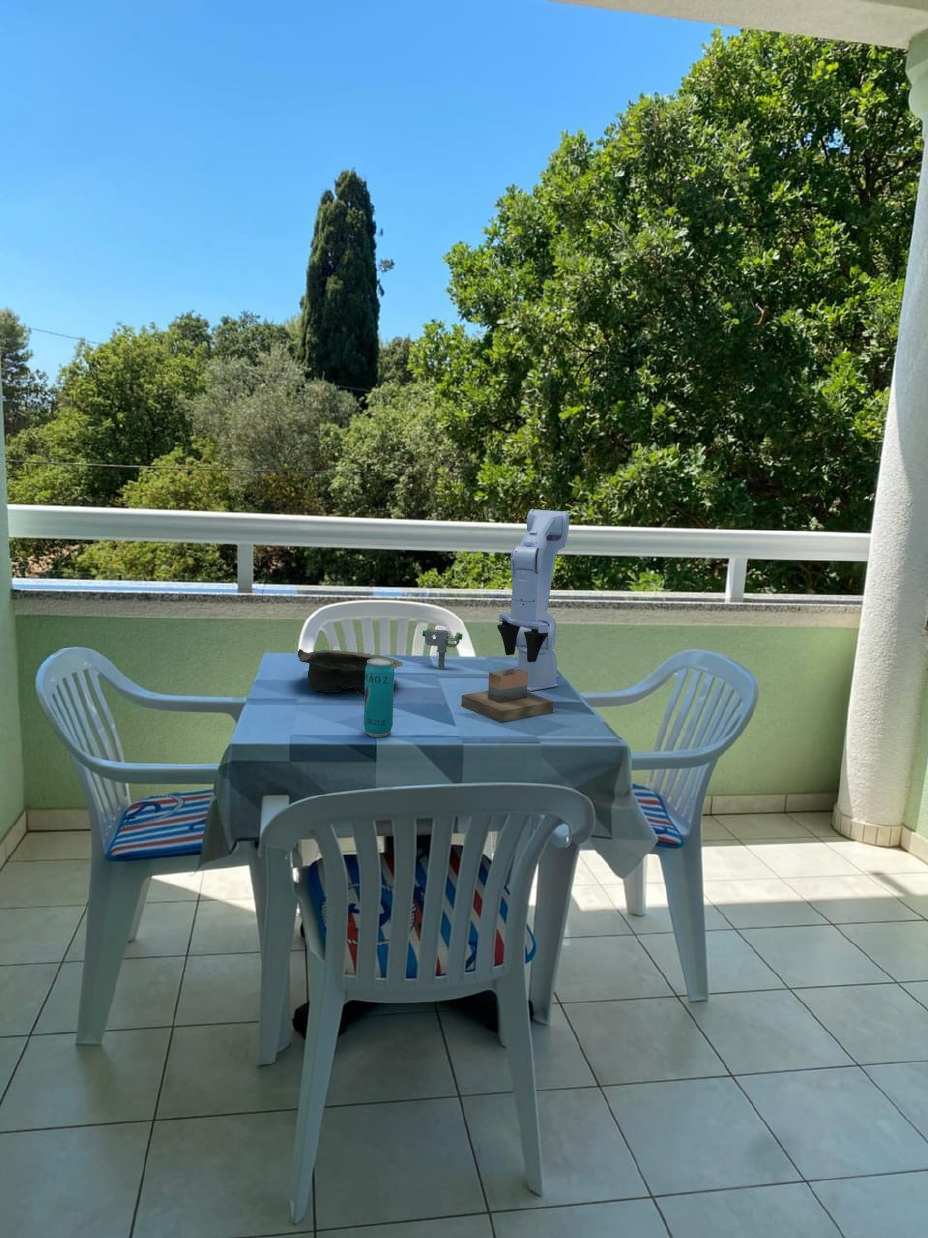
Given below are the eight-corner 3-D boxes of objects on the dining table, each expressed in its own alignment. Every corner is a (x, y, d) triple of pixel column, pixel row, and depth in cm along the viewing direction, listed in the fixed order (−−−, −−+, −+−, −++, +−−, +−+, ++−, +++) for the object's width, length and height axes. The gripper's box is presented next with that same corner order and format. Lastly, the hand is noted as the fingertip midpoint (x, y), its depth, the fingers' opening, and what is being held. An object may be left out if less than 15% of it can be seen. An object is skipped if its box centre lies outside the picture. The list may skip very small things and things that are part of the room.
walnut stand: (512, 696, 213) (512, 686, 213) (552, 712, 203) (553, 701, 202) (461, 705, 204) (461, 695, 204) (501, 722, 193) (501, 711, 193)
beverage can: (364, 728, 185) (365, 657, 182) (392, 729, 186) (394, 658, 183) (363, 738, 180) (365, 664, 177) (392, 738, 180) (394, 665, 177)
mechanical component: (459, 671, 234) (460, 634, 232) (420, 668, 236) (421, 630, 234) (461, 669, 237) (463, 631, 235) (423, 665, 238) (424, 628, 236)
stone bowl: (289, 699, 203) (290, 658, 202) (305, 678, 228) (305, 641, 227) (400, 701, 204) (401, 660, 203) (404, 680, 229) (404, 643, 227)
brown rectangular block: (515, 693, 207) (516, 668, 206) (526, 698, 204) (528, 672, 203) (487, 698, 202) (489, 672, 201) (499, 703, 199) (500, 676, 198)
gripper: (490, 595, 208) (487, 653, 210) (532, 606, 197) (528, 667, 199) (513, 593, 212) (510, 650, 215) (556, 603, 201) (552, 663, 203)
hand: (520, 658), depth 207 cm, fingers open, 7 cm apart
